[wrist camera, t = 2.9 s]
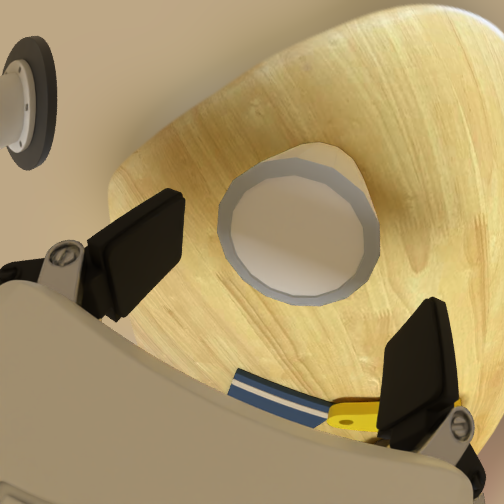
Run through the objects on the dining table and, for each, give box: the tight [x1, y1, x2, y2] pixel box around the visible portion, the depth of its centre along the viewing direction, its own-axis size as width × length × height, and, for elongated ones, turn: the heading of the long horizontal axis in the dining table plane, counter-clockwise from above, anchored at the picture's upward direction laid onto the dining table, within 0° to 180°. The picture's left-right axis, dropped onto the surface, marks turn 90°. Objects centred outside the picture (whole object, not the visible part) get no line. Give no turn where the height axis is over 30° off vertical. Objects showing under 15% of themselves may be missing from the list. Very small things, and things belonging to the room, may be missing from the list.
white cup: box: [217, 142, 380, 306], centre depth 13 cm, size 7×7×7 cm
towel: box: [227, 368, 335, 428], centre depth 34 cm, size 14×14×1 cm
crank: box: [327, 398, 462, 432], centre depth 23 cm, size 18×8×6 cm, turn 99°
